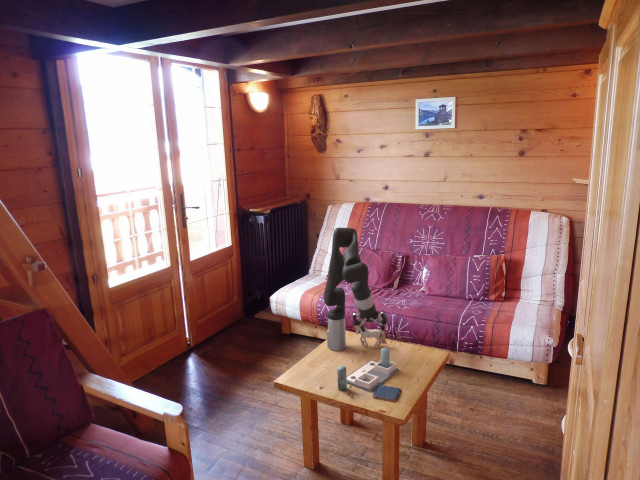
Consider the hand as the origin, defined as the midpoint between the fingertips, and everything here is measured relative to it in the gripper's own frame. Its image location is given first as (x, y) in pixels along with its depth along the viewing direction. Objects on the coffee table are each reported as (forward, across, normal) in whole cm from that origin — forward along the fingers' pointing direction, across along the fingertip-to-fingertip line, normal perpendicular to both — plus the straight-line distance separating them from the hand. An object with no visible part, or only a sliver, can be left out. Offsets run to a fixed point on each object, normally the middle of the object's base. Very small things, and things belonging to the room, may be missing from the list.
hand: (373, 330), depth 201 cm
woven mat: (+22, -3, +17) cm, 28 cm away
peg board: (+26, +7, +4) cm, 27 cm away
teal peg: (+19, +17, +16) cm, 30 cm away
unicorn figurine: (+37, +14, -23) cm, 46 cm away
